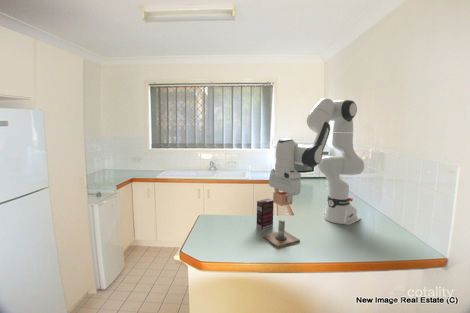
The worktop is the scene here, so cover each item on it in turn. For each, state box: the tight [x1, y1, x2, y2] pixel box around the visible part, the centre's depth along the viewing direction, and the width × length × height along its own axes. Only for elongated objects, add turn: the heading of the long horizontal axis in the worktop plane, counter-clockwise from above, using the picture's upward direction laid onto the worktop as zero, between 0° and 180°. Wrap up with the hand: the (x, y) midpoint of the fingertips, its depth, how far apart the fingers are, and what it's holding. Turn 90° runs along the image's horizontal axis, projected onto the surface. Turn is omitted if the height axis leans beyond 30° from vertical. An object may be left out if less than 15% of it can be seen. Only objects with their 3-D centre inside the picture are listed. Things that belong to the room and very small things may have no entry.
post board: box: [262, 219, 301, 249], centre depth 135 cm, size 14×12×10 cm
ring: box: [272, 190, 294, 207], centre depth 133 cm, size 7×7×5 cm
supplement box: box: [256, 198, 274, 232], centre depth 149 cm, size 9×5×16 cm, turn 126°
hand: (282, 199), depth 133 cm, fingers closed on ring, 7 cm apart
